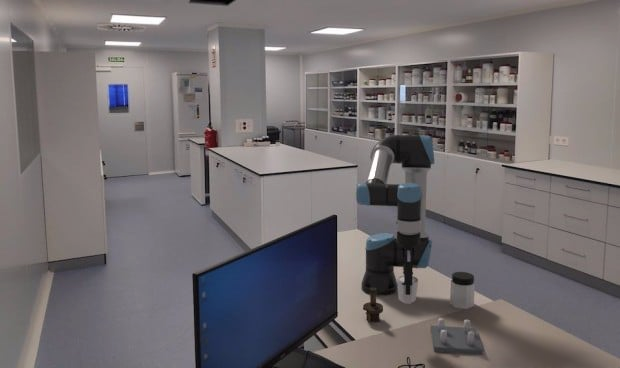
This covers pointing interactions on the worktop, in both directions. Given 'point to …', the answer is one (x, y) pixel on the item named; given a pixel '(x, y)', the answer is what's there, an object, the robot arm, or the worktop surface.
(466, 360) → the worktop surface
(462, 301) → the jar
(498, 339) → the worktop surface
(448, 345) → the pin plate
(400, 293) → the shot glass
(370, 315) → the industrial component
